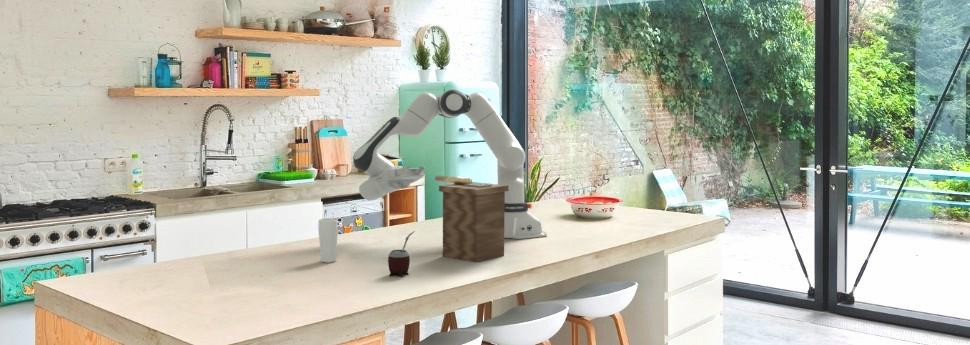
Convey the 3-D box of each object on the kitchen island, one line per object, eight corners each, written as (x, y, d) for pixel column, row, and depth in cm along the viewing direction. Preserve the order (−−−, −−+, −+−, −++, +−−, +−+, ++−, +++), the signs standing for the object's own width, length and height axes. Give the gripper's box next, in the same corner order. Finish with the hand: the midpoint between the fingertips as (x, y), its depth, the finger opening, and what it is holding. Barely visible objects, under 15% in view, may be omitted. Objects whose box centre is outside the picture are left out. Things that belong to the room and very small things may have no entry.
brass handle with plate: (431, 182, 327) (431, 175, 327) (442, 181, 332) (442, 174, 331) (481, 187, 312) (481, 180, 312) (491, 186, 316) (492, 179, 316)
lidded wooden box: (438, 256, 319) (438, 185, 317) (470, 249, 333) (470, 181, 330) (476, 262, 308) (477, 189, 305) (507, 255, 322) (508, 185, 319)
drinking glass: (340, 259, 311) (340, 218, 310) (335, 263, 305) (334, 221, 303) (321, 259, 312) (321, 217, 311) (316, 263, 305) (315, 220, 304)
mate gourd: (385, 273, 289) (385, 228, 288) (408, 272, 292) (408, 227, 290) (391, 278, 282) (391, 232, 281) (415, 276, 285) (415, 231, 283)
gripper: (370, 173, 337) (395, 161, 329) (406, 171, 353) (430, 160, 345) (374, 188, 335) (399, 176, 328) (410, 186, 352) (435, 175, 344)
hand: (415, 168), depth 336 cm, fingers open, 8 cm apart
